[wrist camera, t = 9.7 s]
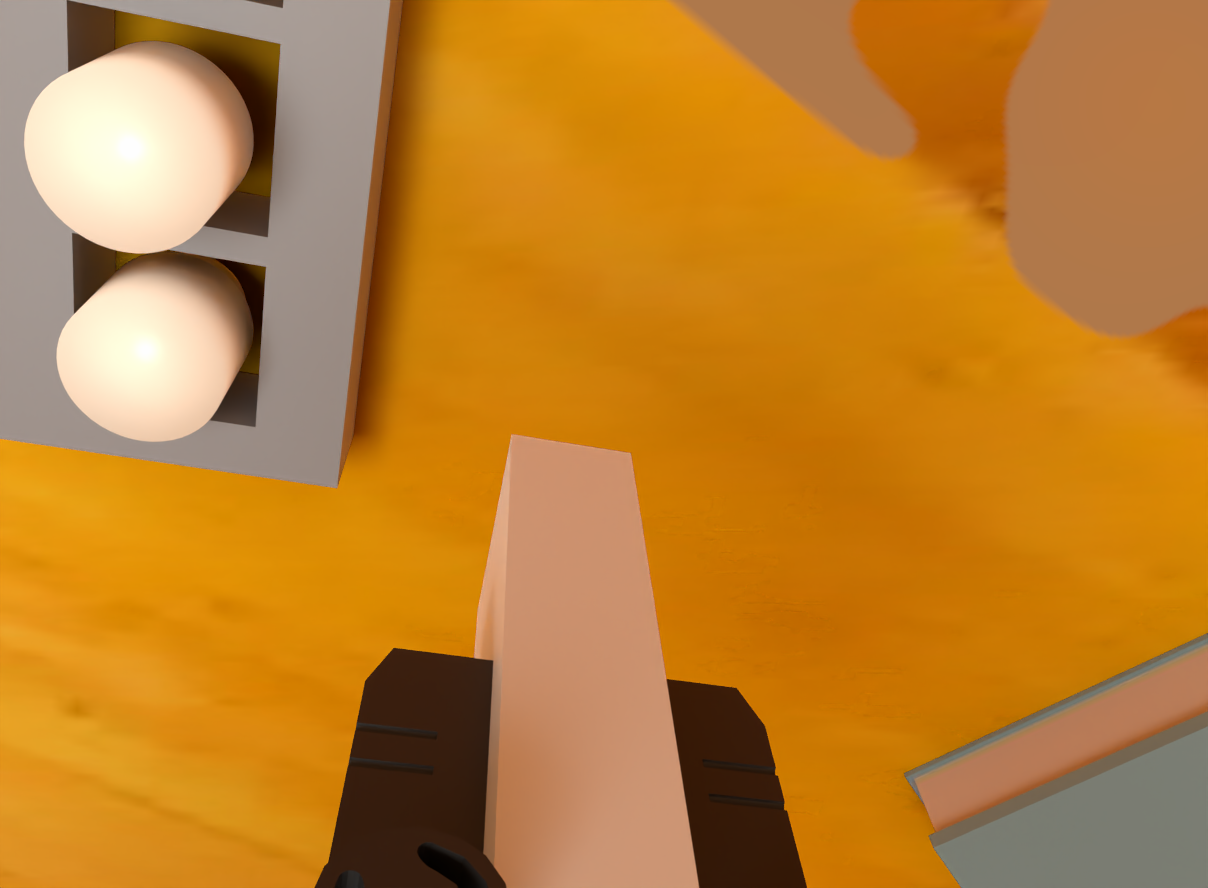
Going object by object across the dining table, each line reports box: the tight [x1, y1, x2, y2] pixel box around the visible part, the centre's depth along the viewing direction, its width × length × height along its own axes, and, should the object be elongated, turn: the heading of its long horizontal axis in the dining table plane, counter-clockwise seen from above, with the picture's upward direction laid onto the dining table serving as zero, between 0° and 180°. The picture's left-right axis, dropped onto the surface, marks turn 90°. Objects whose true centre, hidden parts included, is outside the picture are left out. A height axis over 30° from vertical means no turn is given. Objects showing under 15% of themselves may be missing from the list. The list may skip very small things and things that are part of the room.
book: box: [904, 633, 1208, 888], centre depth 53 cm, size 23×16×5 cm
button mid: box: [24, 41, 254, 253], centre depth 31 cm, size 5×5×6 cm
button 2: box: [56, 252, 253, 442], centre depth 36 cm, size 5×5×6 cm
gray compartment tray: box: [0, 0, 403, 488], centre depth 34 cm, size 12×24×4 cm, turn 168°
